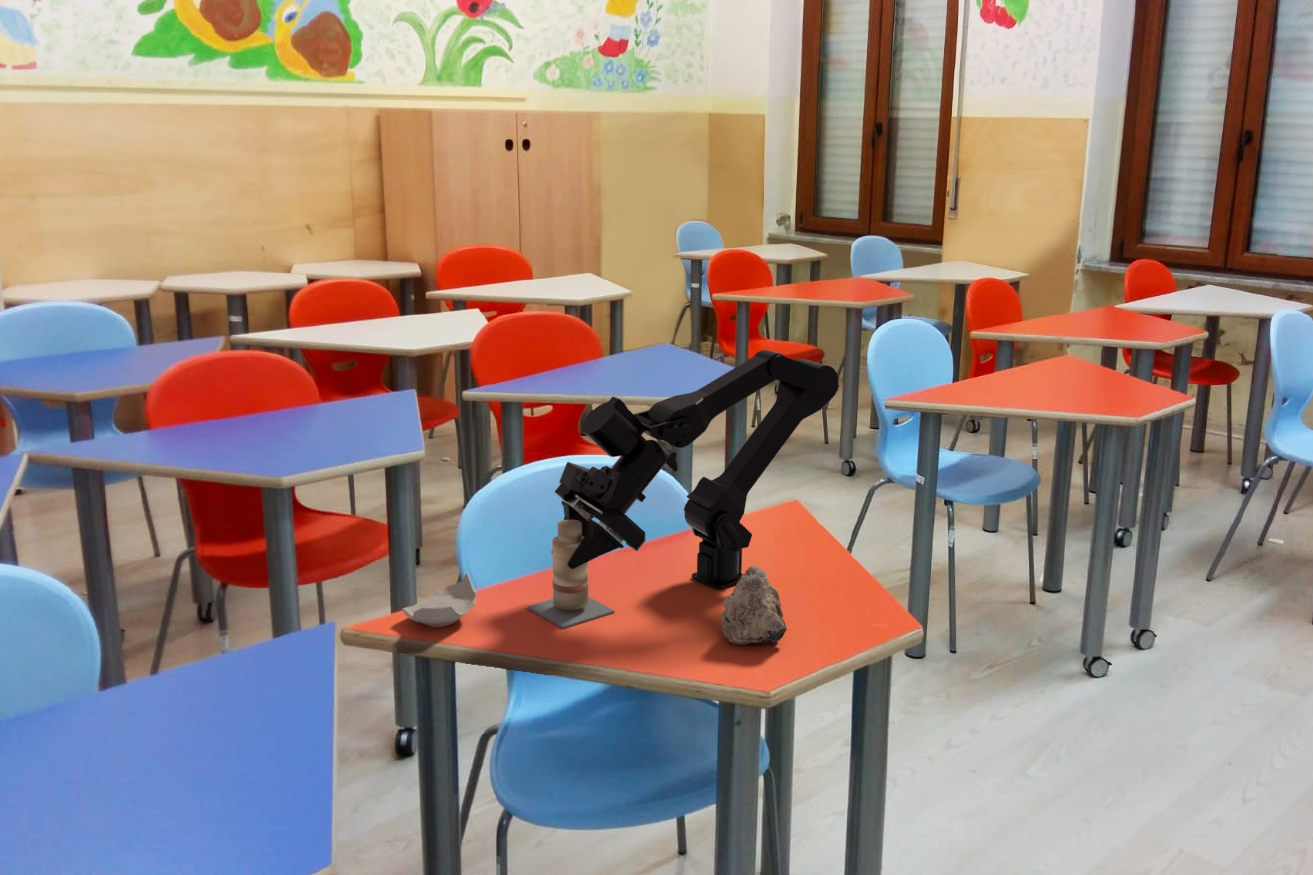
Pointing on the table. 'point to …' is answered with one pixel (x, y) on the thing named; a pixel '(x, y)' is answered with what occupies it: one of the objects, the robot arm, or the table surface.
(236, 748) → the table surface
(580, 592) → the skittle
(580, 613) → the mat
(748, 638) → the rock
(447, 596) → the pottery shard
